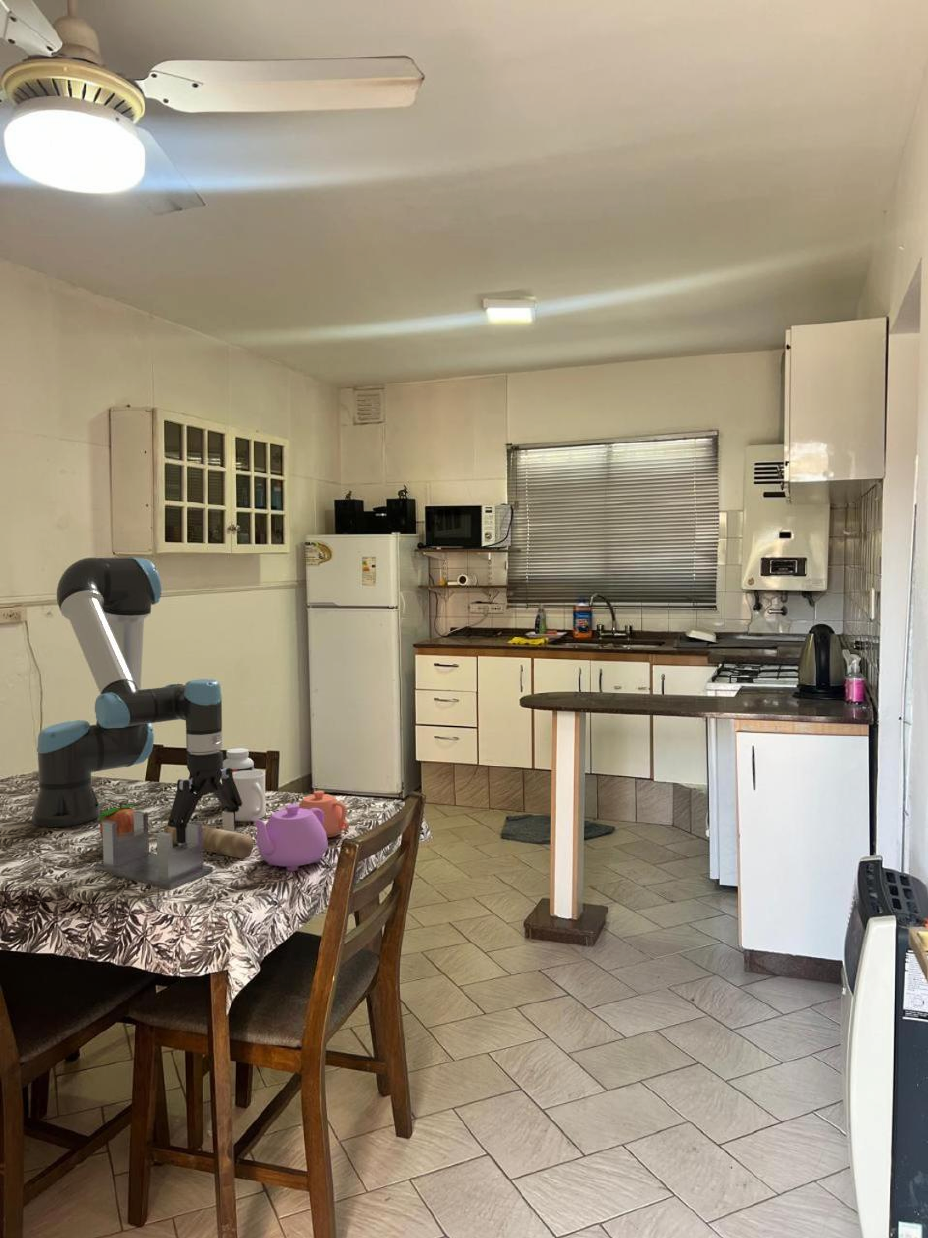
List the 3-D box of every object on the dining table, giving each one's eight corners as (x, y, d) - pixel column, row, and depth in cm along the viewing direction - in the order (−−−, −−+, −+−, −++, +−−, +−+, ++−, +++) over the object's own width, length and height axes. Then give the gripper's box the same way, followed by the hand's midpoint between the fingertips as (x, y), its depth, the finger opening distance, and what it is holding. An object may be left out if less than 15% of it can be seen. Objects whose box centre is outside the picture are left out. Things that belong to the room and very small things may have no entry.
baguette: (163, 844, 193) (164, 821, 193) (180, 841, 197) (182, 819, 198) (235, 860, 182) (237, 836, 183) (252, 856, 187) (254, 833, 187)
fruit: (150, 846, 192) (149, 802, 192) (108, 857, 185) (106, 811, 185) (133, 837, 198) (132, 794, 198) (91, 847, 192) (90, 803, 191)
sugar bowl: (313, 824, 208) (312, 782, 207) (363, 832, 202) (362, 789, 201) (281, 839, 197) (280, 795, 196) (332, 847, 191) (331, 802, 190)
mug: (245, 827, 206) (244, 783, 205) (223, 816, 215) (222, 773, 214) (278, 820, 211) (277, 777, 210) (255, 810, 220) (254, 768, 220)
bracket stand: (94, 870, 177) (93, 822, 177) (138, 854, 187) (137, 808, 186) (169, 889, 166) (168, 838, 166) (212, 872, 176) (211, 823, 175)
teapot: (276, 885, 168) (275, 824, 168) (229, 870, 177) (228, 811, 176) (348, 857, 184) (347, 801, 184) (302, 844, 193) (301, 790, 192)
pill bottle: (221, 810, 220) (220, 754, 219) (222, 802, 227) (221, 748, 226) (254, 808, 221) (253, 752, 221) (254, 800, 229) (253, 746, 228)
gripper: (173, 764, 176) (176, 868, 177) (256, 742, 197) (259, 835, 198) (147, 760, 180) (150, 862, 181) (232, 739, 201) (234, 831, 202)
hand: (207, 848), depth 190 cm, fingers open, 12 cm apart
